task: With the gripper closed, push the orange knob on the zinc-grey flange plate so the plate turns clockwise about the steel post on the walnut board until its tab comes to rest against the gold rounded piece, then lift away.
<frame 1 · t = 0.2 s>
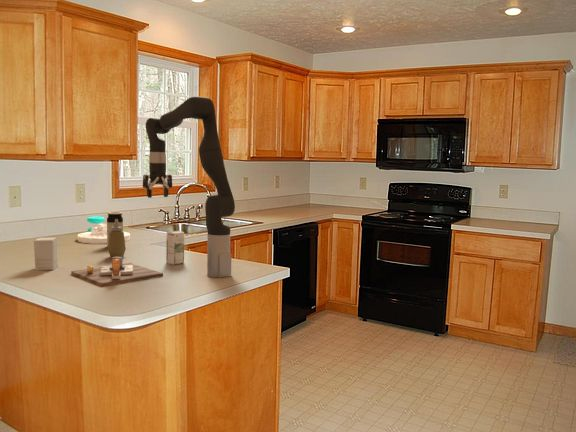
hand: (157, 197, 241), 29 cm above the countertop, tool pointing down, fingers open, 8 cm apart
travel mug: (115, 246, 273), on the countertop
syrup box: (175, 263, 235), on the countertop
squeeze bottle: (116, 257, 245), on the countertop
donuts: (96, 233, 315), on the countertop
flange: (116, 264, 205), point 5 cm above the countertop, hinge at 150.0°
supplement box: (46, 268, 218), on the countertop
cake: (104, 240, 293), on the countertop
gold rounded piece: (90, 276, 205), resting on post board
post board: (117, 275, 209), on the countertop
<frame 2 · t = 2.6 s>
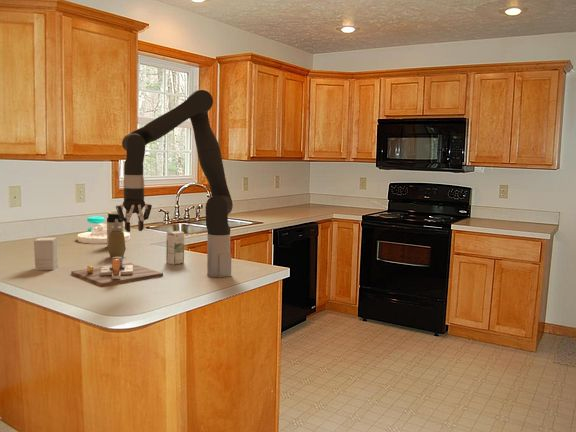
hand: (134, 231, 200), 19 cm above the countertop, tool pointing down, fingers open, 4 cm apart
nothing on the countertop moved.
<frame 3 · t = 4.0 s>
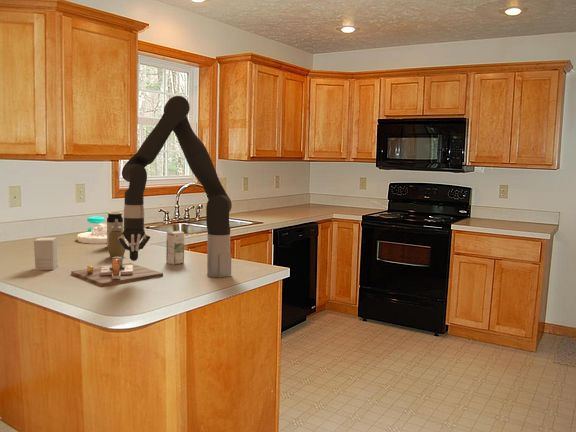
hand: (133, 260, 201), 8 cm above the countertop, tool pointing down, fingers closed
nothing on the countertop moved.
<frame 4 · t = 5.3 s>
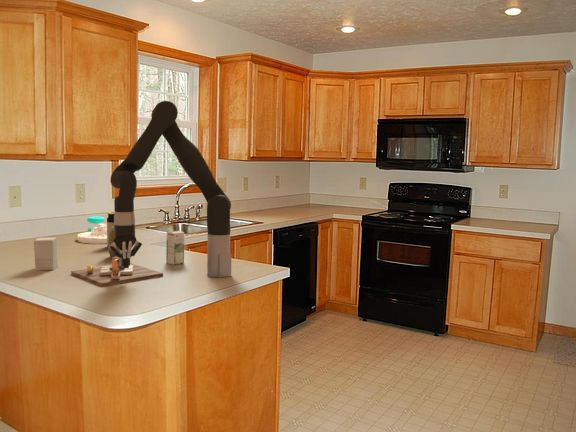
hand: (125, 267, 199), 5 cm above the countertop, tool pointing down, fingers closed
flange: (116, 264, 205), point 5 cm above the countertop, hinge at 149.1°, touching gripper
everything else where it was.
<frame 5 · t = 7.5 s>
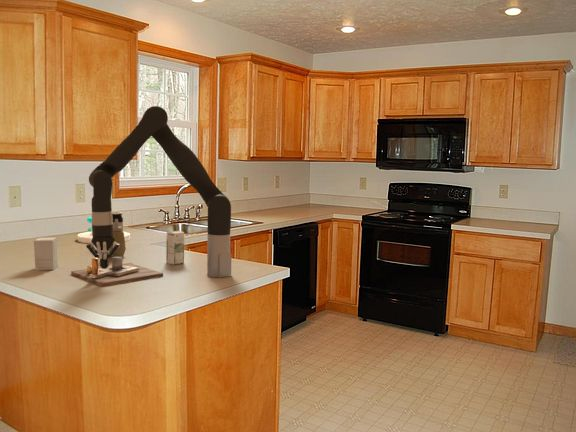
hand: (104, 268, 198), 5 cm above the countertop, tool pointing down, fingers closed
flange: (110, 264, 205), point 5 cm above the countertop, hinge at 108.0°, touching gripper
everything else where it was.
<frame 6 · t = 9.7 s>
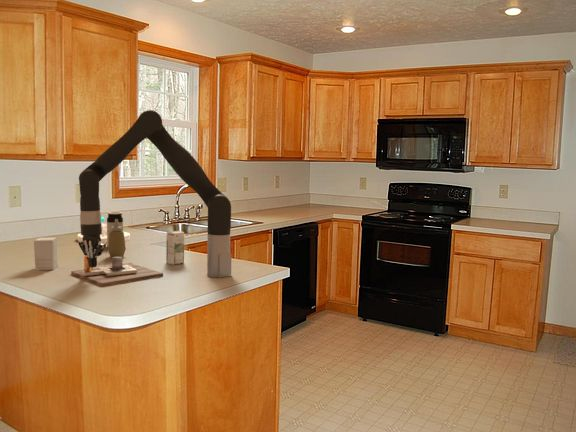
hand: (93, 267, 199), 5 cm above the countertop, tool pointing down, fingers closed
flange: (108, 263, 207), point 5 cm above the countertop, hinge at 79.8°, touching gold rounded piece, gripper
everything else where it was.
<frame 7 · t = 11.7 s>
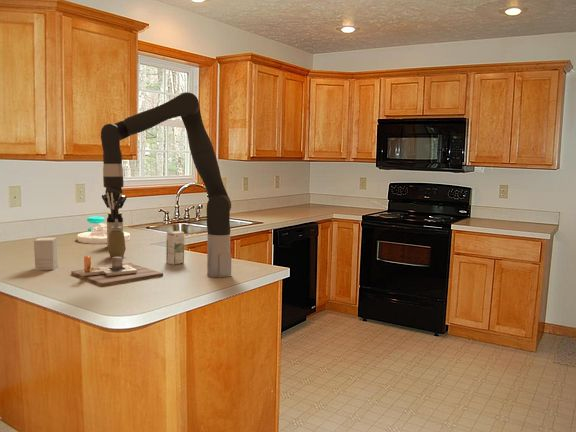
hand: (114, 218, 207), 23 cm above the countertop, tool pointing down, fingers closed
flange: (108, 263, 207), point 5 cm above the countertop, hinge at 79.8°, touching gold rounded piece
everything else where it was.
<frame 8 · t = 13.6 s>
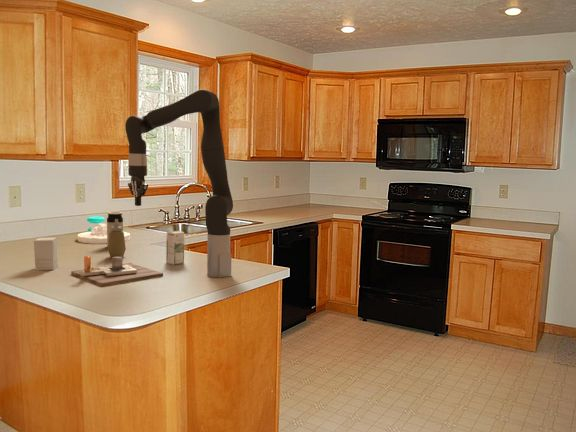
hand: (138, 205, 220), 27 cm above the countertop, tool pointing down, fingers closed
nothing on the countertop moved.
at the end: flange at +80° (first picture: +150°); flange touching gold rounded piece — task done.
